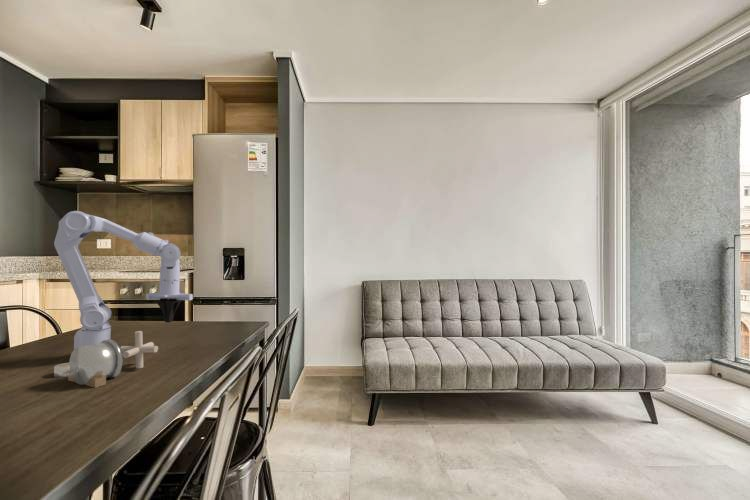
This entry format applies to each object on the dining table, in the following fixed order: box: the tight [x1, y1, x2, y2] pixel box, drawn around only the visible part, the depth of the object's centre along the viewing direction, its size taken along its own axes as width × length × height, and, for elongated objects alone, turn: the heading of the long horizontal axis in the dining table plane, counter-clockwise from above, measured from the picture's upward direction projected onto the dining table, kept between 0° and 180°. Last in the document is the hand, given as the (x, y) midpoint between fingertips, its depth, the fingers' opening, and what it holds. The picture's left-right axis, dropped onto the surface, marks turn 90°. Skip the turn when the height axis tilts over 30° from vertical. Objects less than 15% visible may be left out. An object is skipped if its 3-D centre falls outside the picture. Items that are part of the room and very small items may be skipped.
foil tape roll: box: [53, 362, 70, 378], centre depth 96 cm, size 5×5×2 cm
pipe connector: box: [119, 330, 159, 369], centre depth 102 cm, size 10×10×10 cm
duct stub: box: [67, 339, 124, 388], centre depth 92 cm, size 11×7×10 cm, turn 67°
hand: (168, 321), depth 120 cm, fingers closed
